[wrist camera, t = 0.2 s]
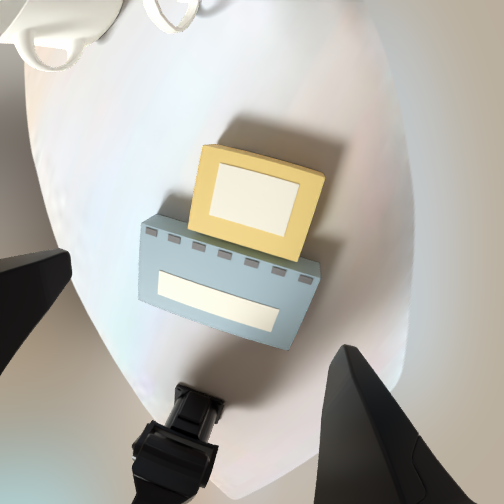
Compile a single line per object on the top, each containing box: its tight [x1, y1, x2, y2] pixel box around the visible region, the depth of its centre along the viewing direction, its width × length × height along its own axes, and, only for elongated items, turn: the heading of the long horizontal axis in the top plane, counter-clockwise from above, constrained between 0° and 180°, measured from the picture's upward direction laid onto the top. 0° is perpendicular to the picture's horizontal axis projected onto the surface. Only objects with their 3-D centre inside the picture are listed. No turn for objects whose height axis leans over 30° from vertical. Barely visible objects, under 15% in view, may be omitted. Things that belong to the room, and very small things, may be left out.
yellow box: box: [188, 144, 325, 262], centre depth 19 cm, size 6×8×3 cm
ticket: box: [138, 214, 321, 351], centre depth 22 cm, size 8×14×3 cm, turn 76°
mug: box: [0, 0, 123, 72], centre depth 11 cm, size 9×12×11 cm
